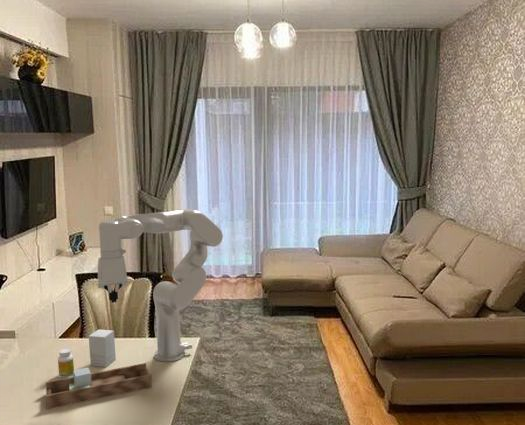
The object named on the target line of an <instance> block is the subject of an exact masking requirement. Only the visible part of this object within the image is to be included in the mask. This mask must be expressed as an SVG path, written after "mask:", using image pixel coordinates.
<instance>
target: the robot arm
mask: <svg viewBox="0 0 525 425" xmlns="http://www.w3.org/2000/svg"><path fill="white" fill-rule="evenodd" d="M185 230H187V231H190V232H189V238H190V247H189V250H188V252H187V253H186V254H185V255H184V257H183V258H182V259H181V260H180V261H179V263H177V264H176V266H175V267H174V268H173V270H172V273H171V278H172V279H173V280H172V281H174V282H175V283H174V282H171V281H166V280H164V281H161V282H158V283H157V284H156V285H155V286H154V288H153V292H152V294H153V295H152V297H153V298H152V299H153V302H154V306H155V315H156V316H155V318H156V341H157V342H156V344H157V346H156V347H157V350H155V351H154V354H153V359H155V360H156V361H159V362H161V363H162V362H163V363H164V362H165V363H167V362H175V361H178V360H181V359H182V358H183V357H184V356H185V350H190V349H193V345H192V343H190V344H188V342H184V343H182V342H181V318H180V317H181V315H180V311H182V310H184V309H186V308H187V307H188V306H189V305H190V304H191V303H192V302H193V300H194V299H195V298H196V296H197V295H198V294H199V293H200V291H201V290H202V288H203V287H204V286H205V284H206V280H207V272H206V271H205V269H204V268H203V266H204V264H205V263H206V261H207V259H208V247H213V248H214V247H218V246H219V245H221V243H222V240H223V237H224V236H223V235H224V234H223V232H222V230H221V228H220V227H218V225H217V224H215V222H213V221H212V220H211V219H210V218H209V217H208V216H207V215H206V214H204V213H202V211H199V210H193V209H188V208H187V209H186V208H183V209H177V210H176V209H175V210H169V211H161V212H160V211H159V212H151V213H150V212H149V213H139V214H138V213H137V214H130V215H129V214H128V215H123V216H119V217H116V218H115V219H114V220H104V221H101V222H100V223H99V224H98V231H99V234H98V235H99V250H100V257H99V258H98V261H97V281H98V282H97V288H98V289H103V290H106V291H107V292H108V298H109V299H108V300H109V301H111V303H112V304H113V303H117V300H119V293H118V292H119V291H120V289H121V288H122V287H125V286H127V285H128V284H129V283H128V274H127V266H126V261H125V260H126V259H125V257H124V254H126V253H127V252H126V249H122V240H135V239H137V238H139V237H140V236H142V234H143V233H148V234H149V233H150V234H167V233H172V232H179V231H185ZM112 285H114V289H112Z"/></svg>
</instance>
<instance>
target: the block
mask: <svg viewBox="0 0 525 425" xmlns="http://www.w3.org/2000/svg"><path fill="white" fill-rule="evenodd" d="M73 373H74V374H73V376H74V386H75V388H80V387H85V386H92V383H91V373H92V372H91V371H90V368H89V367H83V368H81V369H80V368H79V369H77V370H75V369H74V371H73Z"/></svg>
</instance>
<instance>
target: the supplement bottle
mask: <svg viewBox="0 0 525 425" xmlns="http://www.w3.org/2000/svg"><path fill="white" fill-rule="evenodd" d="M58 353H59V356H58V358H57V364H58V376H59V377H60V378H61V379H64V378H69V377H70V376H74V373H73V371H75V367H74V366H75V364H74V356H73V354H72V350H71V349H69V348H64V349H61V350H59V351H58Z"/></svg>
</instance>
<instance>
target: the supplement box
mask: <svg viewBox="0 0 525 425" xmlns="http://www.w3.org/2000/svg"><path fill="white" fill-rule="evenodd" d="M88 344H89V346H88V347H89V358H90V366H92V367H93V366H94V367H100V368H101V367H102V368H107V367H108V366H109V365H111V364H113V363H114V362H115V361H116V358H117V357H116V342H115V331H114V330H111V329H110V330H108V329H97V330H95V331H93V333H90V335H88Z"/></svg>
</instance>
